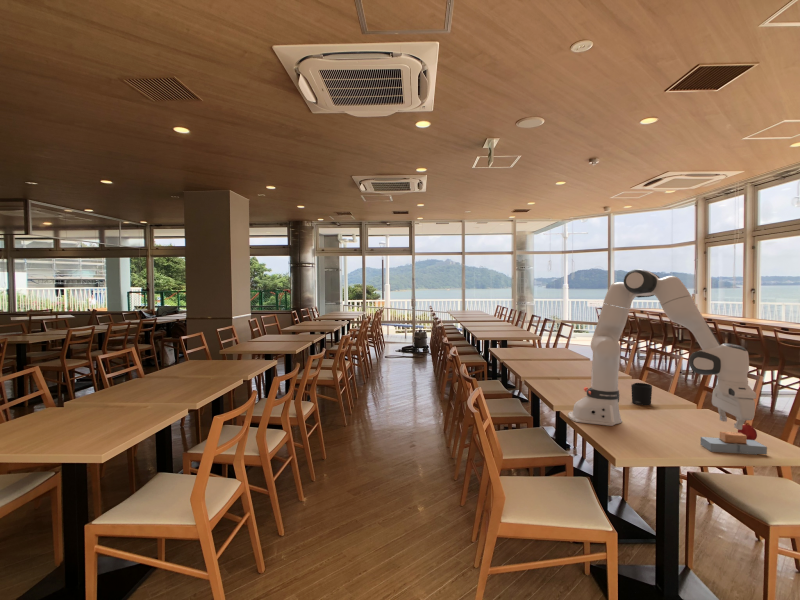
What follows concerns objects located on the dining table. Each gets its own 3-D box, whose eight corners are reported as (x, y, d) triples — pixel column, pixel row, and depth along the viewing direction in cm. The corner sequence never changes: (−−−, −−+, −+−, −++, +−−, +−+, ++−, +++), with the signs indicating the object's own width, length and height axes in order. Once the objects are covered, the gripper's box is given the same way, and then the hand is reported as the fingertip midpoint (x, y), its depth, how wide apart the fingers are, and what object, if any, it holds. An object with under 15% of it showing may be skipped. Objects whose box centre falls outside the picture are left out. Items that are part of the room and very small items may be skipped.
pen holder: (627, 401, 222) (627, 382, 222) (645, 401, 222) (645, 382, 222) (637, 405, 213) (637, 386, 212) (655, 405, 212) (656, 386, 212)
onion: (737, 439, 164) (737, 419, 164) (756, 442, 160) (756, 422, 160) (737, 443, 159) (737, 422, 159) (757, 446, 156) (757, 425, 156)
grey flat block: (710, 451, 151) (710, 443, 151) (700, 444, 158) (700, 436, 158) (766, 455, 148) (766, 446, 148) (753, 447, 155) (753, 440, 155)
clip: (724, 449, 152) (725, 434, 152) (719, 446, 155) (719, 431, 155) (746, 451, 150) (746, 435, 150) (740, 447, 154) (740, 432, 154)
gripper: (707, 381, 163) (706, 415, 163) (739, 393, 143) (737, 433, 143) (725, 382, 162) (724, 417, 162) (759, 395, 142) (757, 434, 142)
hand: (730, 424), depth 153 cm, fingers open, 8 cm apart
